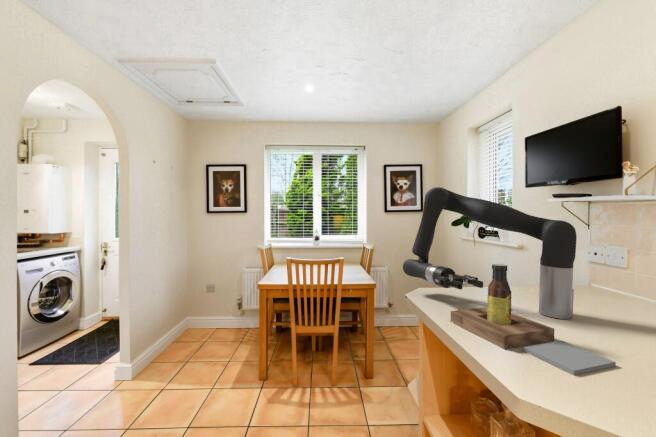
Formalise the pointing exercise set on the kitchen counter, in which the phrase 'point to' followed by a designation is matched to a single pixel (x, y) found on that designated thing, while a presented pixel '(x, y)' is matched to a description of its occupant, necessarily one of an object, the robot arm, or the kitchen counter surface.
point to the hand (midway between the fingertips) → (472, 285)
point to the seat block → (503, 329)
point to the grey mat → (569, 357)
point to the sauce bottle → (499, 297)
